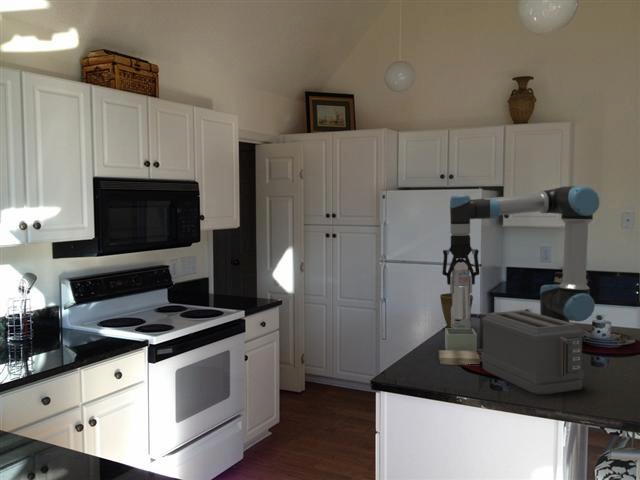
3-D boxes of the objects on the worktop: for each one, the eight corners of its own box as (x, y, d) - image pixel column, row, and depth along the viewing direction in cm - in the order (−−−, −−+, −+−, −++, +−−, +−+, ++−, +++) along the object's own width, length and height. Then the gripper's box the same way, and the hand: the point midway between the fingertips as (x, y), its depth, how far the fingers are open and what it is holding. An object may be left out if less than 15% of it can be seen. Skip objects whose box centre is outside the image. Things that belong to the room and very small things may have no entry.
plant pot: (476, 332, 264) (476, 297, 263) (443, 333, 265) (443, 298, 264) (468, 325, 279) (468, 292, 278) (437, 326, 280) (437, 292, 278)
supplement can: (468, 337, 256) (468, 303, 255) (471, 341, 248) (471, 306, 247) (450, 337, 257) (449, 303, 256) (452, 341, 249) (452, 306, 248)
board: (476, 357, 224) (476, 350, 224) (479, 365, 213) (479, 358, 213) (438, 356, 226) (438, 350, 225) (440, 364, 215) (440, 357, 215)
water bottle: (470, 316, 234) (470, 254, 232) (469, 320, 228) (468, 256, 226) (453, 315, 236) (452, 254, 235) (451, 319, 230) (450, 255, 228)
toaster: (541, 398, 178) (542, 331, 176) (478, 368, 210) (478, 312, 208) (591, 390, 183) (592, 326, 182) (522, 363, 215) (523, 308, 214)
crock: (473, 348, 238) (473, 328, 237) (476, 355, 226) (476, 334, 226) (445, 347, 239) (445, 328, 239) (447, 354, 228) (447, 334, 227)
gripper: (484, 233, 232) (485, 291, 234) (434, 234, 235) (435, 291, 236) (487, 234, 225) (488, 294, 226) (435, 235, 227) (436, 294, 229)
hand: (461, 292), depth 231 cm, fingers closed on water bottle, 7 cm apart
